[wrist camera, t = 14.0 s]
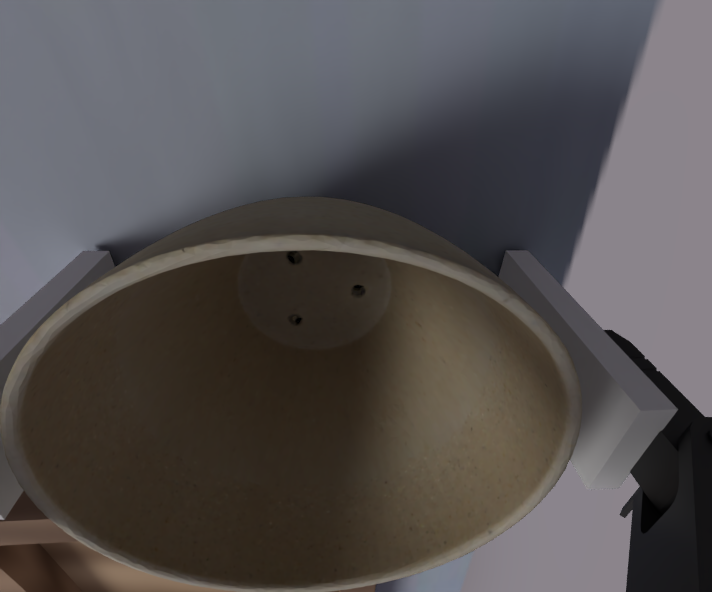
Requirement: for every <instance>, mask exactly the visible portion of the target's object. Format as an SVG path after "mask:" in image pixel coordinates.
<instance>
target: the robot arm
mask: <svg viewBox="0 0 712 592" xmlns="http://www.w3.org/2000/svg"><path fill="white" fill-rule="evenodd" d="M113 268H115V266H114V263H113V260H112V257H111V255H110V252H109V251H83V252H82V253H80V254H79V255H78V256H77V257H76V258H75V259H74V260H73V261H72V262H70V263H69V264H68V265H67V266H66V267H65V268H64V269H63V270H61V271H60V272H59V273H58V274H57V275H56V276H55V277H54V278H53V279H51V280H50V281H49V282H48V283H47V284H46V285H45V286H44V287H43V288H41V289H40V290H39V291H38V292H37V293H36V294H35V295H34V296H33V297H31V298H30V299H29V300H28V301H27V302H26V303H25V304H24V305H23V306H21V307H20V308H19V309H18V310H17V311H16V312H15V313H14V314H13V315H11V316H10V317H9V318H8V319H7V320H6V321H5V322H4V323H2V324H1V325H0V405H1V399H2V395H3V390H4V386H5V383H6V381H7V378H8V376H9V373H10V371H11V369H12V367H13V365H14V363H15V361H16V359H17V357H18V355H19V353H20V352H21V350H22V349H23V347H24V346H25V344H26V343H27V342H28V340H29V339H30V338H31V337H32V335H33V334H34V333H35V332H36V330H37V329H38V328H39V327H40V326H41V325H42V324H43V323H44V322H45V321H46V320H47V319H48V318H49V317H50V316H51V315H52V314H53V313H54V312H55V311H56V310H58V309H59V308H60V307H61V306H63V305H64V304H65V303H66V302H67V301H69V300H70V299H71V298H73V297H74V296H75V295H77V294H78V293H79V292H81V291H82V290H83V289H85V288H86V287H87V286H89V285H90V284H91V283H93V282H94V281H95V280H97V279H98V278H99V277H101V276H103V275H104V274H106V273H107V272H109V271H110V270H112V269H113ZM499 278H500V279H501V280H502V281H504V282H505V283H506V284H507V285H509V286H510V287H511V288H512V289H513V290H514V291H515V292H516V293H517V294H518V295H519V296H520V297H522V298H523V299H524V300H525V301H526V302H527V303H528V304H529V305H530V306H531V307H532V308H533V309H534V310H535V311H537V312H538V313H539V314H540V315H541V316H542V318H543V319H544V320H545V321H546V322H547V323H548V324H549V325H550V327H551V328H552V329H553V330H554V331H555V333H556V334H557V335H558V336H559V338H560V340H561V342H562V343H563V344H564V345H565V347H566V348H567V350H568V352H569V354H570V356H571V358H572V360H573V363H574V366H575V369H576V372H577V375H578V378H579V382H580V388H581V394H582V417H581V427H580V431H579V436H578V439H577V443H576V446H575V448H574V451H573V455H572V457H571V459H570V460H571V462H572V464H573V466H574V467H575V469H576V471H577V473H578V474H579V476H580V478H581V479H582V481H583V483H584V485H585V486H586V488H587V490H595V489H615V488H619V487H620V486H621V485H622V484H623V482H624V481H625V480H626V478H627V477H628V475H629V474H630V473H631V474H632V475H633V477H634V478H635V480H636V481H637V482H638V484H639V485H640V487H639V488H638V489H637V491H636V492H635V493H634V494H633V496H632V497H631V498H630V499H629V501H628V502H627V503H626V504H625V506H624V507H623V508H622V511H621V513H620V515H621V516H622V517H624V518H625V517H626V516H627V515H628V513H629V512H630V511H631V510H633V513H632V525H631V538H630V550H629V562H628V574H627V586H626V592H712V417H704V416H703V415H702V414H701V413H700V412H699V410H698V409H696V408H695V406H694V405H693V404H692V403H691V402H690V401H689V400H688V399H686V397H685V396H683V394H682V393H681V392H679V391H678V389H677V388H675V387H674V385H672V384H671V382H670V381H669V380H668V379H667V378H666V377H665V376H664V375H662V373H660V371H656V367H655V366H654V365H653V364H652V363H651V362H650V361H649V360H648V359H645V358H644V357H645V356H644V355H643V354H642V353H641V352H640V351H639V350H638V349H637V348H636V347H635V346H634V345H633V344H632V343H631V342H629V341H628V340H626V339H625V338H623V337H621V336H620V335H618V334H616V333H615V332H614V331H612V330H603V329H602V328H601V327H600V326H599V325H598V324H597V323H596V322H595V321H594V320H593V319H592V318H591V317H590V316H589V314H587V312H586V311H585V310H584V309H583V308H582V307H581V306H580V305H579V304H578V303H577V302H576V301H575V300H574V299H573V298H572V297H571V295H570V294H569V293H568V292H567V291H566V290H565V289H564V288H563V287H562V286H561V285H560V284H559V283H558V282H557V281H556V280H555V278H554V277H553V276H552V275H551V274H550V273H549V272H548V271H547V270H546V269H545V268H544V267H543V266H542V265H541V264H540V263H539V262H538V260H537V259H536V258H535V257H534V256H533V255H532V254H531V253H530V252H529V251H528V250H506V252H505V255H504V259H503V262H502V266H501V270H500V273H499ZM23 491H24V490H23V489H22V488H21V486H20V485H19V483H18V481H17V479H16V477H15V475H14V474H13V472H12V470H11V468H10V466H9V464H8V461H7V459H6V456H5V451H4V448H3V443H2V438H1V432H0V520H5V518H6V517H7V515H8V514H9V512H10V511H11V509H12V507H13V506H14V504H15V503H16V501H17V500H18V498H19V497H20V495H21V494H22V492H23Z"/></svg>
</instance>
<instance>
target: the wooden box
mask: <svg viewBox="0 0 712 592" xmlns="http://www.w3.org/2000/svg"><path fill="white" fill-rule="evenodd" d="M375 586H376V584H375V585H370V586H365V587H359V588H353V589H347V590H338V591H330V592H375ZM0 592H236V591H227V590H219V589H212V588H206V587H199V586H193V585H189V584H185V583H180V582H175V581H171V580H168V579H164V578H160V577H157V576H153V575H150V574H148V573H145V572H142V571H139V570H135V569H132V568H130V567H128V566H126V565H124V564H121V563H119V562H116V561H114V560H112V559H110V558H108V557H106V556H104V555H102V554H101V553H99V552H97V551H95V550H92V549H90V548H89V547H87V546H85V545H84V544H82V543H81V542H79V541H78V540H76V539H74V538H73V537H72V536H70V535H69V534H67V533H66V532H65V531H63V529H61V528H59V527H58V526H57V525H56V524H55V523H53V522H52V521H51V520H50V519H49V518H48V517H47V516H45V515H44V513H43V512H42V511H41V510H40V509H38V508H37V507H36V505H35V504H34V503H33V502H32V501H31V499H30V498H29V497H28V496H27V494H26V493H25V491H23V492H22V494H21V495H20V497H19V498H18V500H17V501H16V503H15V504H14V506H13V507H12V509H11V511H10V512H9V514H8V515H7V517H6V518H5V520H0Z"/></svg>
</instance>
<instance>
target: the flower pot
mask: <svg viewBox="0 0 712 592" xmlns="http://www.w3.org/2000/svg"><path fill="white" fill-rule="evenodd" d="M288 255H290V256H292V257H293V258H294V259H295V262H294V263H292V262H291V261H290V260H289V259H288ZM356 285H361V286H362V287H360V288H355V287H354V286H356ZM298 318H302V319H301V321H300V323H297V322H296V319H298ZM581 417H582V394H581V388H580V382H579V378H578V375H577V372H576V369H575V366H574V363H573V360H572V358H571V356H570V354H569V352H568V350H567V348H566V347H565V345H564V344H563V343H562V342H561V340H560V338H559V336H558V335H557V334H556V333H555V331H554V330H553V329H552V328H551V327H550V325H549V324H548V323H547V322H546V321H545V320H544V319H543V318H542V316H541V315H540V314H539V313H538V312H537V311H535V310H534V309H533V308H532V307H531V306H530V305H529V304H528V303H527V302H526V301H525V300H524V299H523V298H522V297H520V296H519V295H518V294H517V293H516V292H515V291H514V290H513V289H512V288H511V287H510V286H509V285H507V284H506V283H505V282H504V281H502V280H501V279H500V278H499V277H498V276H496V275H495V274H494V273H493V272H491V271H490V270H489V269H487V268H486V267H485V266H483V265H482V264H481V263H479V262H478V261H477V260H475V259H474V258H473V257H471V256H470V255H469V254H467V253H466V252H465V251H463V250H461V249H460V248H458V247H457V246H455V245H454V244H452V243H451V242H449V241H447V240H446V239H444V238H443V237H441V236H439V235H437V234H435V233H434V232H432V231H430V230H428V229H426V228H425V227H423V226H421V225H419V224H417V223H415V222H413V221H411V220H408V219H406V218H404V217H402V216H399V215H397V214H394V213H392V212H389V211H386V210H383V209H380V208H377V207H374V206H371V205H367V204H363V203H359V202H354V201H349V200H345V199H336V198H327V197H287V198H278V199H272V200H265V201H260V202H255V203H251V204H247V205H243V206H239V207H236V208H233V209H230V210H226V211H223V212H220V213H218V214H215V215H212V216H210V217H207V218H204V219H202V220H200V221H197V222H195V223H193V224H191V225H188V226H186V227H184V228H182V229H180V230H177V231H175V232H174V233H172V234H170V235H168V236H166V237H164V238H163V239H161V240H159V241H157V242H155V243H153V244H152V245H150V246H148V247H146V248H144V249H143V250H141V251H139V252H138V253H136V254H134V255H133V256H131V257H130V258H128V259H127V260H125V261H124V262H122V263H121V264H119V265H118V266H116V267H115V268H113V269H112V270H110V271H109V272H107V273H106V274H104V275H103V276H101V277H99V278H98V279H97V280H95V281H94V282H93V283H91V284H90V285H89V286H87V287H86V288H85V289H83V290H82V291H81V292H79V293H78V294H77V295H75V296H74V297H73V298H71V299H70V300H69V301H67V302H66V303H65V304H64V305H63V306H61V307H60V308H59V309H58V310H56V311H55V312H54V313H53V314H52V315H51V316H50V317H49V318H48V319H47V320H46V321H45V322H44V323H43V324H42V325H41V326H40V327H39V328H38V329H37V330H36V332H35V333H34V334H33V335H32V337H31V338H30V339H29V340H28V342H27V343H26V344H25V346H24V347H23V349H22V350H21V352H20V353H19V355H18V357H17V359H16V361H15V363H14V365H13V367H12V369H11V371H10V373H9V376H8V378H7V381H6V383H5V386H4V390H3V395H2V399H1V405H0V432H1V438H2V443H3V448H4V451H5V456H6V459H7V461H8V464H9V466H10V468H11V470H12V472H13V474H14V475H15V477H16V479H17V481H18V483H19V485H20V486H21V488H22V489H23V490H24V491H25V493H26V494H27V496H28V497H29V498H30V499H31V501H32V502H33V503H34V504H35V505H36V507H37V508H38V509H40V510H41V511H42V512H43V513H44V515H45V516H47V517H48V518H49V519H50V520H51V521H52V522H53V523H55V524H56V525H57V526H58V527H59V528H61V529H63V531H65V532H66V533H67V534H69V535H70V536H72V537H73V538H74V539H76V540H78V541H79V542H81V543H82V544H84V545H85V546H87V547H89V548H90V549H92V550H95V551H97V552H99V553H101V554H102V555H104V556H106V557H108V558H110V559H112V560H114V561H116V562H119V563H121V564H124V565H126V566H128V567H130V568H132V569H135V570H139V571H142V572H145V573H148V574H150V575H153V576H157V577H160V578H164V579H168V580H171V581H175V582H180V583H185V584H189V585H193V586H199V587H206V588H212V589H219V590H227V591H236V592H330V591H338V590H347V589H353V588H359V587H365V586H370V585H375V584H380V583H384V582H388V581H393V580H397V579H400V578H404V577H408V576H411V575H414V574H417V573H421V572H424V571H426V570H429V569H432V568H435V567H438V566H440V565H443V564H445V563H448V562H450V561H452V560H455V559H457V558H459V557H462V556H464V555H466V554H468V553H470V552H472V551H474V550H475V549H477V548H479V547H481V546H482V545H485V544H486V543H488V542H490V541H491V540H493V539H494V538H496V537H497V536H499V535H500V534H502V533H503V532H505V531H506V530H508V529H509V528H511V527H512V526H513V525H515V524H516V523H517V522H518V521H520V520H521V519H522V518H523V517H525V516H526V515H527V514H528V513H530V512H531V511H532V510H533V509H534V508H535V507H536V506H537V505H538V504H539V503H540V502H541V501H542V500H543V498H545V497H546V495H547V494H548V493H549V492H550V491H551V489H552V488H553V487H554V486H555V484H556V483H557V481H558V480H559V478H560V477H561V475H562V474H563V472H564V471H565V469H566V466H567V464H568V462H569V460H570V459H571V457H572V455H573V451H574V448H575V446H576V443H577V439H578V436H579V431H580V427H581Z"/></svg>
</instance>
